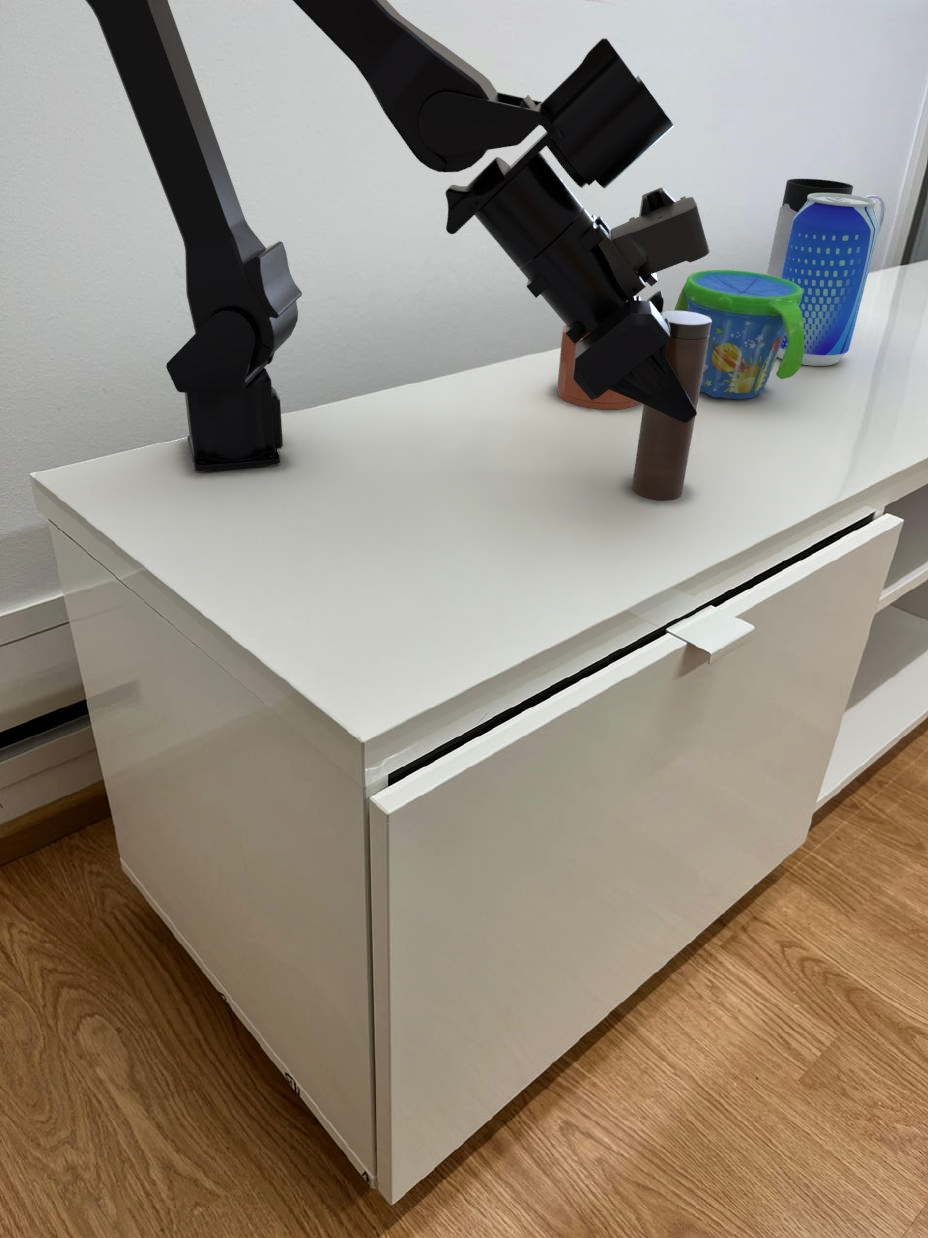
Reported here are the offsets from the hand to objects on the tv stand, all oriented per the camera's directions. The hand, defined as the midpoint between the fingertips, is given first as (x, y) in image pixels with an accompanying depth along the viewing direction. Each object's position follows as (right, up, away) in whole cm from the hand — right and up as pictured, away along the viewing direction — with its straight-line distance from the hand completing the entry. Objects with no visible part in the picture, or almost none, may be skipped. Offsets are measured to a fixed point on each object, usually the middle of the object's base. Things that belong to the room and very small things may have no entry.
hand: (689, 408), depth 71 cm
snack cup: (+9, +7, +25) cm, 27 cm away
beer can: (+21, +13, +36) cm, 43 cm away
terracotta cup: (-4, +6, +22) cm, 23 cm away
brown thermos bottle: (-2, -5, +4) cm, 7 cm away
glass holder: (+27, +23, +52) cm, 63 cm away
